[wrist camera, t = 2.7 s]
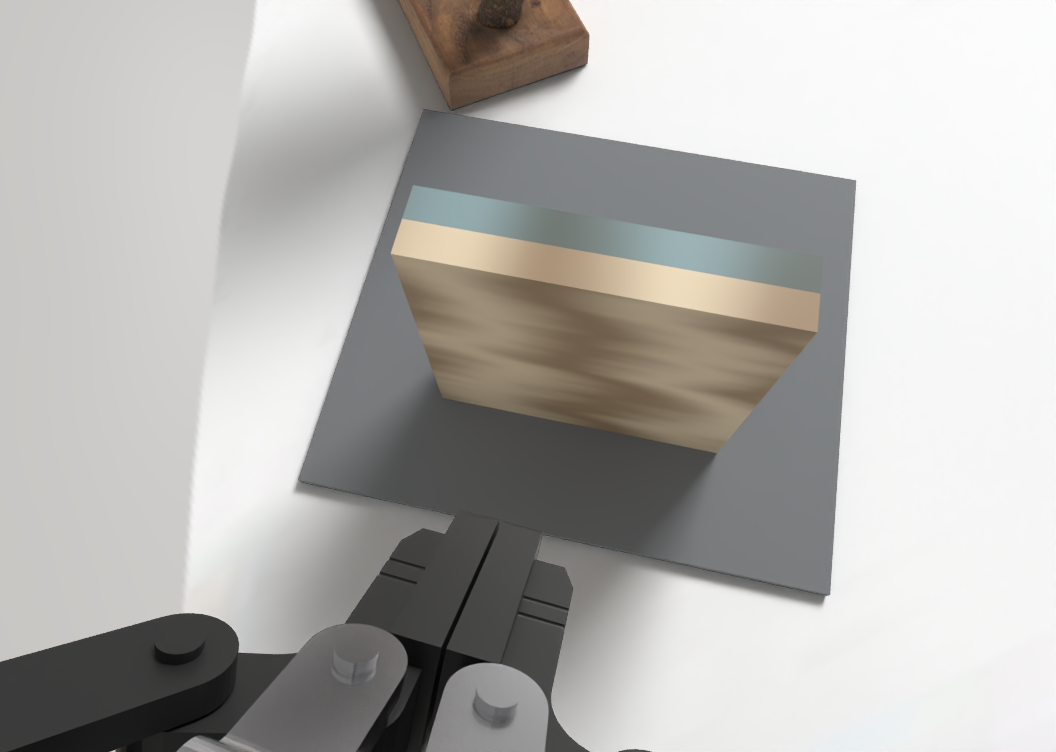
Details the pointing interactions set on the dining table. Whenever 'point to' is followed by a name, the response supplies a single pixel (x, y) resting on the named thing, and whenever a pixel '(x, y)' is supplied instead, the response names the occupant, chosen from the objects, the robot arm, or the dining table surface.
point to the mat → (586, 453)
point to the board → (601, 316)
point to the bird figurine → (495, 43)
